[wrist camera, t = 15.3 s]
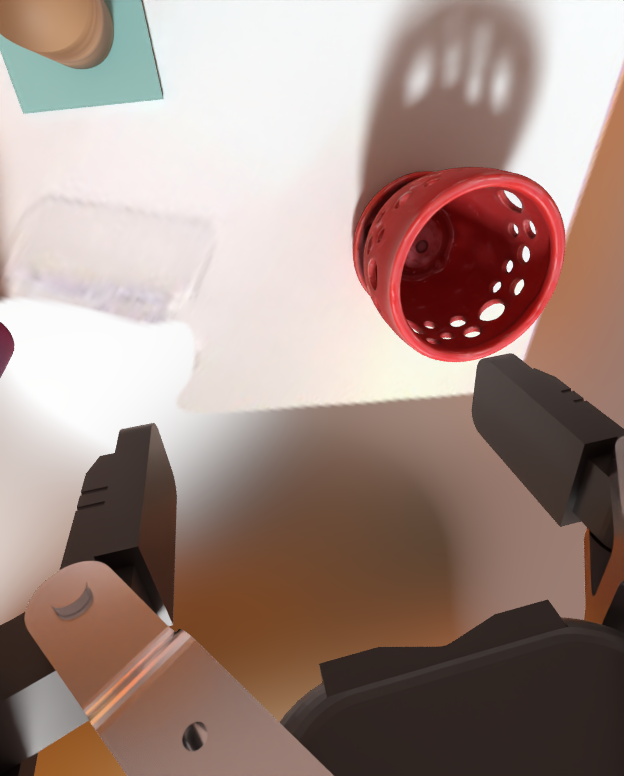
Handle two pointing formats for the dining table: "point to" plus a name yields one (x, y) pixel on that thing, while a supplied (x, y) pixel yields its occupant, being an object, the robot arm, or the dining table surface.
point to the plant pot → (458, 258)
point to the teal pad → (89, 86)
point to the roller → (60, 29)
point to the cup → (5, 347)
